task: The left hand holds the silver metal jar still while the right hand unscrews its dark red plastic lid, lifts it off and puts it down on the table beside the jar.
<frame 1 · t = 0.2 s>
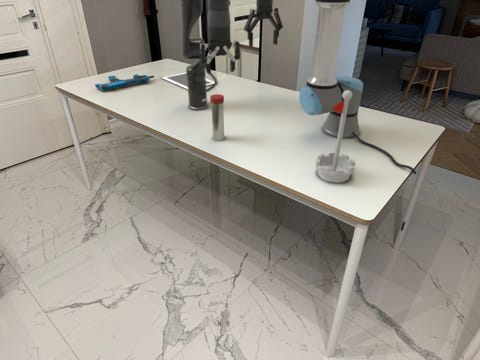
left hand: (220, 72, 123), 29 cm above the table, tool pointing down, fingers open, 8 cm apart
right hand: (263, 45, 167), 28 cm above the table, tool pointing down, fingers open, 13 cm apart
flag stand: (333, 174, 119), on the table
jar: (218, 138, 144), on the table
tablet: (188, 81, 211), on the table
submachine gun: (124, 83, 208), on the table
lid: (217, 97, 134), point 18 cm above the table, screwed on, not yet turned
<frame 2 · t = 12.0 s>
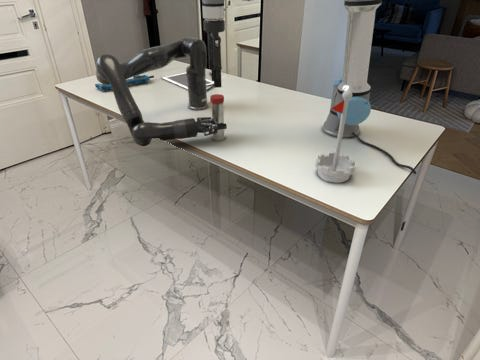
left hand: (224, 123, 141), 6 cm above the table, tool horizontal, fingers closed on jar, 5 cm apart
right hand: (216, 83, 131), 23 cm above the table, tool pointing down, fingers open, 7 cm apart
jar: (218, 137, 144), on the table, touching left hand
everything else where it was.
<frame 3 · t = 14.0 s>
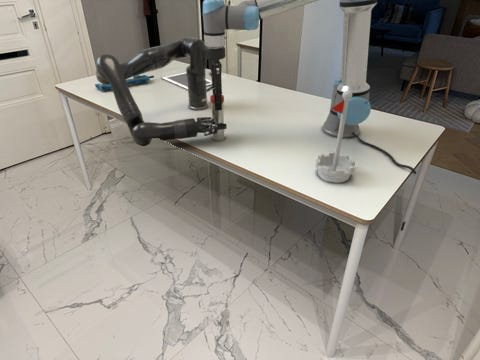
left hand: (224, 123, 141), 6 cm above the table, tool horizontal, fingers closed on jar, 5 cm apart
right hand: (217, 107, 137), 14 cm above the table, tool pointing down, fingers closed on lid, 5 cm apart
jar: (218, 138, 144), on the table, touching left hand
lid: (217, 97, 134), point 18 cm above the table, screwed on, not yet turned, touching right hand
everything else where it was.
when the right hand's fingers open (14 cm above the table, at t = 15.1 s): lid stays where it is, point 18 cm above the table.
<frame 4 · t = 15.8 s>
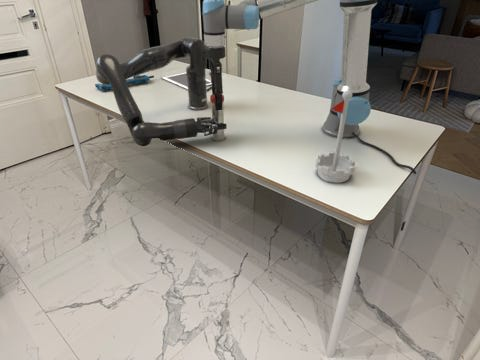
left hand: (224, 123, 141), 6 cm above the table, tool horizontal, fingers closed on jar, 5 cm apart
right hand: (217, 105, 136), 14 cm above the table, tool pointing down, fingers open, 7 cm apart
jar: (218, 138, 144), on the table, touching left hand
lid: (217, 96, 134), point 18 cm above the table, turned 68° so far, risen 0.2 cm, still on its thread
everything else where it was.
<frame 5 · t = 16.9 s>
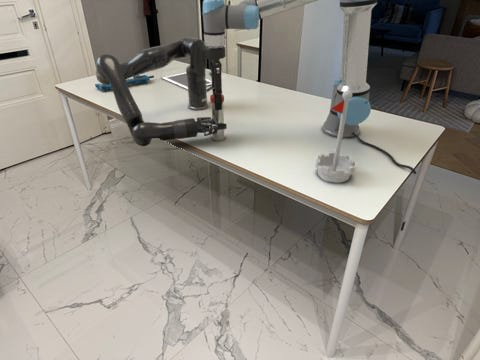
left hand: (224, 123, 141), 6 cm above the table, tool horizontal, fingers closed on jar, 5 cm apart
right hand: (217, 106, 136), 14 cm above the table, tool pointing down, fingers closed on lid, 5 cm apart
jar: (218, 138, 144), on the table, touching left hand
lid: (217, 96, 134), point 18 cm above the table, turned 68° so far, risen 0.2 cm, still on its thread, touching right hand
everything else where it was.
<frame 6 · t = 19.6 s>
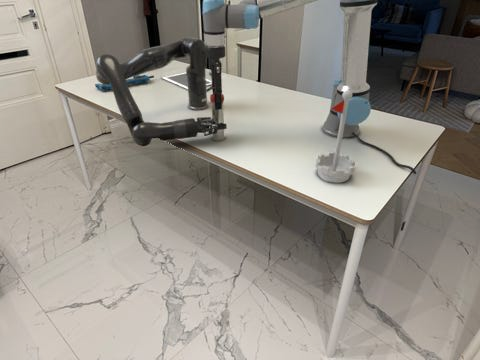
left hand: (224, 123, 141), 6 cm above the table, tool horizontal, fingers closed on jar, 5 cm apart
right hand: (217, 106, 136), 14 cm above the table, tool pointing down, fingers closed on lid, 5 cm apart
jar: (218, 138, 144), on the table, touching left hand
lid: (217, 96, 134), point 18 cm above the table, turned 136° so far, risen 0.4 cm, still on its thread, touching right hand
everything else where it was.
when the right hand's fingers open (0 cm above the table, at t = 26.4 s): lid stays where it is, point 2 cm above the table.
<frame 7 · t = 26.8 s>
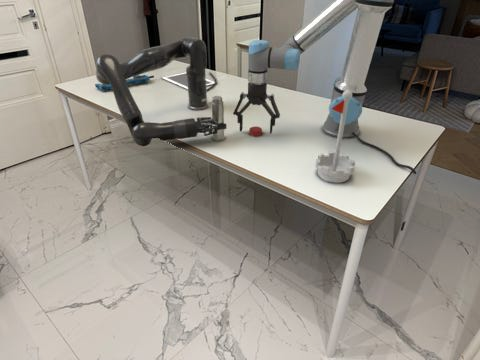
left hand: (224, 123, 141), 6 cm above the table, tool horizontal, fingers closed on jar, 5 cm apart
right hand: (256, 131, 147), 1 cm above the table, tool pointing down, fingers open, 12 cm apart
jar: (218, 138, 144), on the table, touching left hand
lid: (255, 129, 147), point 2 cm above the table, off its thread
everything else where it was.
when the left hand's fingers open (6 cm above the table, at t = 27.5 s): jar stays where it is, on the table.
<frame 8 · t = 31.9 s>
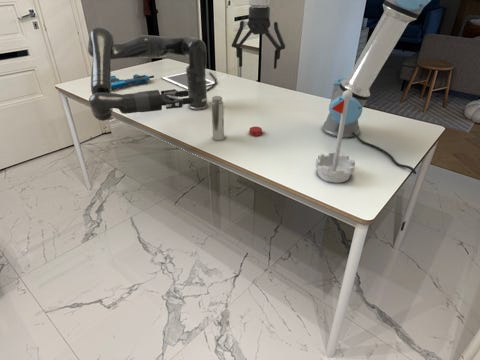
left hand: (190, 96, 131), 19 cm above the table, tool horizontal, fingers open, 8 cm apart
right hand: (257, 67, 132), 28 cm above the table, tool pointing down, fingers open, 13 cm apart
jar: (218, 138, 144), on the table
everything else where it was.
at the end: lid came off its thread; lid point 1.7 cm above the table; the left hand is holding nothing; the right hand is holding nothing; jar tilted 0°; jar moved 0.0 cm from its start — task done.
